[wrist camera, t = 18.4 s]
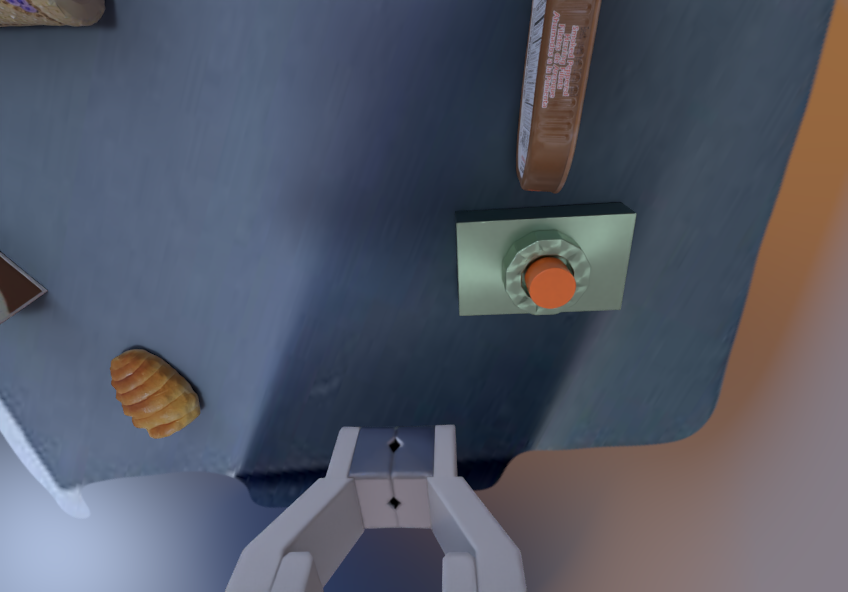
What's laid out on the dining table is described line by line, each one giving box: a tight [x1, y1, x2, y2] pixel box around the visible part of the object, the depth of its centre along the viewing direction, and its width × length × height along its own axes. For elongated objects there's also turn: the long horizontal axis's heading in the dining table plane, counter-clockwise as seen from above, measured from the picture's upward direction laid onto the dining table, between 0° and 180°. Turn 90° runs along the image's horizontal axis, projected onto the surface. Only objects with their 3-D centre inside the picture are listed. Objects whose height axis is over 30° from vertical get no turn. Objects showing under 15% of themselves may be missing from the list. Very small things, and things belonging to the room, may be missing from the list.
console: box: [455, 202, 637, 316], centre depth 33 cm, size 8×13×5 cm, turn 94°
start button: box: [525, 257, 576, 309], centre depth 30 cm, size 3×3×2 cm
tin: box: [516, 0, 602, 193], centre depth 25 cm, size 15×3×8 cm, turn 179°
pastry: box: [110, 349, 200, 439], centre depth 42 cm, size 9×7×4 cm
